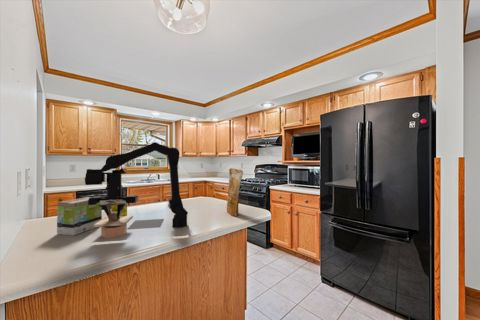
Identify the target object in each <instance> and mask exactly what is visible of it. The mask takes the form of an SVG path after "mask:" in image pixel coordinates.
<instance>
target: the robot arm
mask: <svg viewBox="0 0 480 320" xmlns="http://www.w3.org/2000/svg"><path fill="white" fill-rule="evenodd" d="M154 152H157V153H159V154H161V155H164V156H165V157H166V160H167V164H168V168H169V178H170V183H169V184H170V193H171V194H170V197H168V198H167V201H168V204H167V207H168V208H169V210H170V211H171V212H172V213H173V214H174V215H173V218H172V228H184V227H188V213H189V212H188V211H187V210H186V208H184V205H183V201H182V197H181V193H180V184H179V182H180V181H179V168H178V167H179V161H180V150H179V149H178V148H176V147H169V146H166V145H163V144H160V143H159V142H156V141H155V142H152V143H151V144H148V145H145V146H142V147H140V148H139V147H138V148H137V149H134V150H131V151H128V152H125V153H119V154H115V155H110V156H108V157H107V158H106V159H105V164H104V165H103V166H102V167H101V168H100V169H99V168H98V169H92V168H88V169H87V168H86V173H85V177H84V184H85V186H95V185H97V186H99V185H101V186H102V184H103V183H105V182H106V186H105V190H106V195H105V197H104V196H103V195H97V196H95V195H94V196H92V197H91V198H89V199H88V205H96V204H97V203H98V202H100V205H99V206H101V207H102V210H103V211H104V212H105V215H106V217H108V215H109V214H111V202H120V203H119V204H118V205H117V218H118V219H119V218H120V215H121V212H122V210H123V208H124V206H125V205H126V204H127V205H129V204H135V203H137V202H139V196H138V195H137V194H129V195H126V190H125V189H124V188H123V185H122V184H123V183H122V175H123V174H126V173H127V171H125V170H124V168H123V167H122V166H123V165H125V164H127V163H129V162H130V161H132V160H135V159H137V158H141V157H142V156H145V155H148V154H151V153H154ZM120 167H121V168H120ZM118 168H120V169H118ZM110 170H112V171H111V172H108V171H110Z"/></svg>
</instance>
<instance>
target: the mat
mask: <svg viewBox="0 0 480 320" xmlns="http://www.w3.org/2000/svg"><path fill="white" fill-rule="evenodd" d="M164 221H165V218H158V219H157V218H156V219H153V218H151V219H136V220H134V221H133V222H132V223H131V224H130V225H129V226H128V227H127V230H138V229H156V228H157V229H158V228H161V226H162V224H163V223H164Z"/></svg>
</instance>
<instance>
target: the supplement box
mask: <svg viewBox="0 0 480 320" xmlns="http://www.w3.org/2000/svg"><path fill="white" fill-rule="evenodd" d="M119 203H120V202H111V213H112V212H117V205H118V204H119ZM121 216H128V204H126V205H125V206H124V208H123V210H122V212H121V215H120V217H121Z"/></svg>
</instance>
